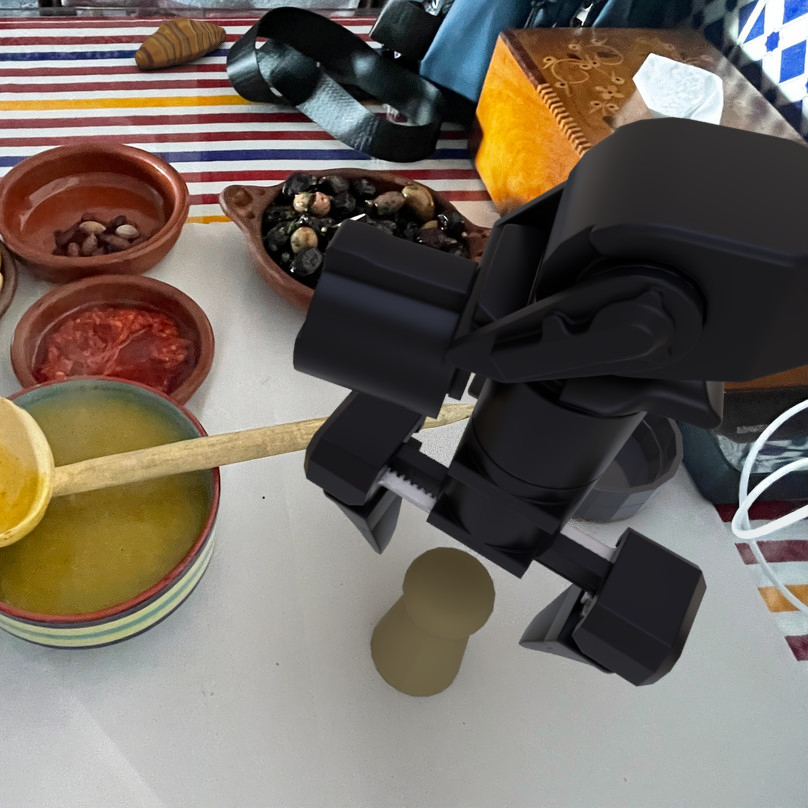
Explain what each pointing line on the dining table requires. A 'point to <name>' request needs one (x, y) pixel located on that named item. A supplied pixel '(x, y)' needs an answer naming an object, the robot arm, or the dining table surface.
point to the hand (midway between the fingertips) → (450, 591)
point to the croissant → (179, 43)
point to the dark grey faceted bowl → (636, 471)
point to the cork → (432, 621)
